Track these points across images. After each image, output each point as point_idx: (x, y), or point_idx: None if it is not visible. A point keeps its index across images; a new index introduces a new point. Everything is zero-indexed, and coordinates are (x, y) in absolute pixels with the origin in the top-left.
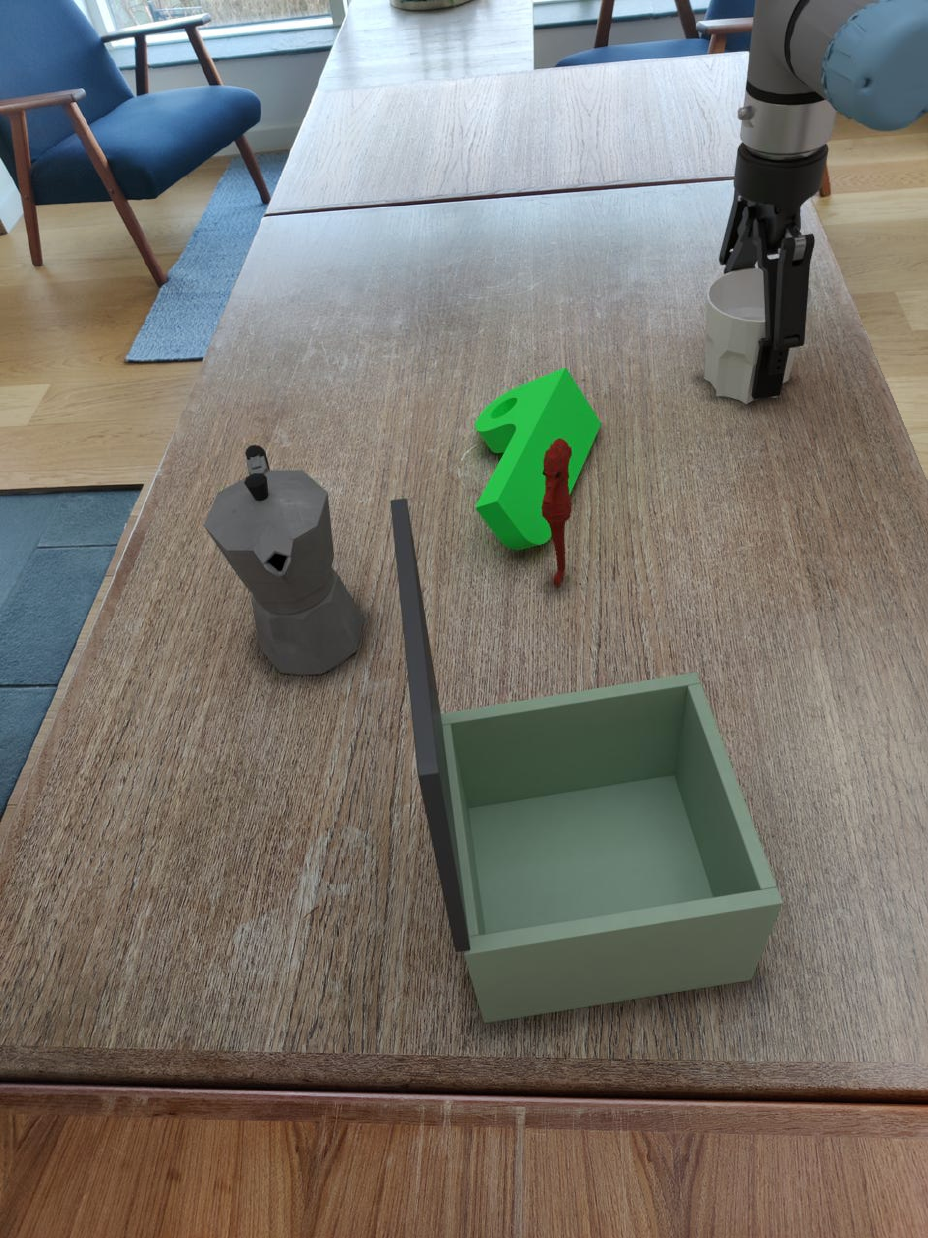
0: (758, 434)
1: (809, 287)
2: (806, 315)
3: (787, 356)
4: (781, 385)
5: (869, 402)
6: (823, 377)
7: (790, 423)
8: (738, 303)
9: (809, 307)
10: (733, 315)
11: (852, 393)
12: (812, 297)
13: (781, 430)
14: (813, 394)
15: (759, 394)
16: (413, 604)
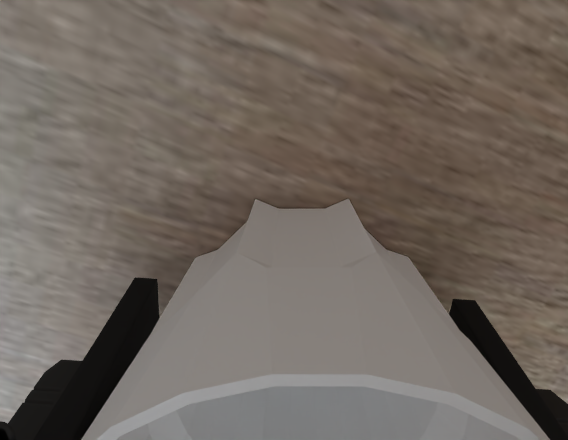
0: (519, 344)
1: (367, 384)
2: (515, 402)
3: (545, 404)
4: (490, 324)
5: (560, 11)
6: (373, 90)
7: (522, 266)
8: (138, 432)
9: (541, 435)
10: (166, 417)
11: (491, 42)
12: (489, 414)
13: (535, 295)
14: (438, 158)
15: None
16: None
